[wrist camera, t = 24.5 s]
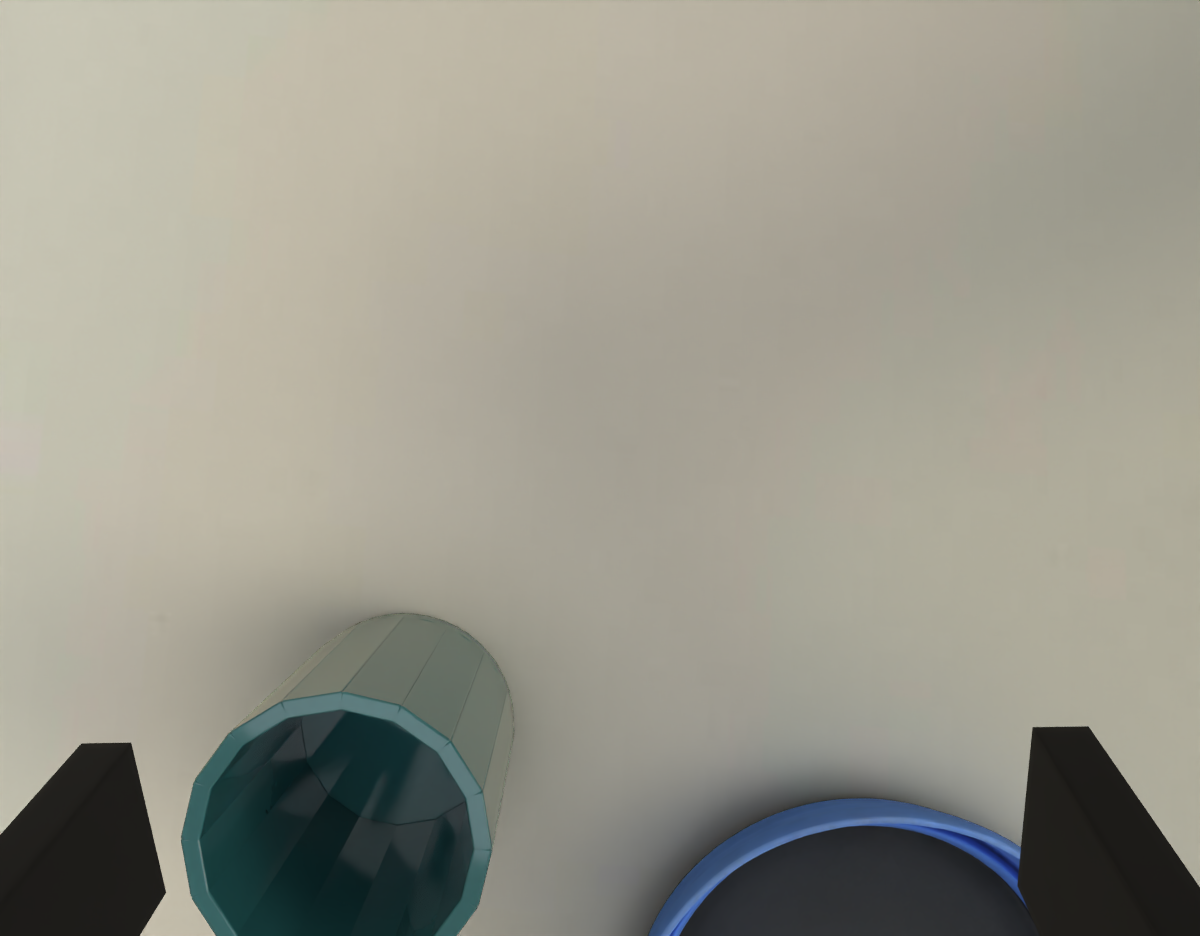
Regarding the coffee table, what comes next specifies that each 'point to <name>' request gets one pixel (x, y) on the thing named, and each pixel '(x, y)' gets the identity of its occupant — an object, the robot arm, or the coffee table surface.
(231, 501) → the coffee table surface
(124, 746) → the robot arm
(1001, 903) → the bowl
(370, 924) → the pot
